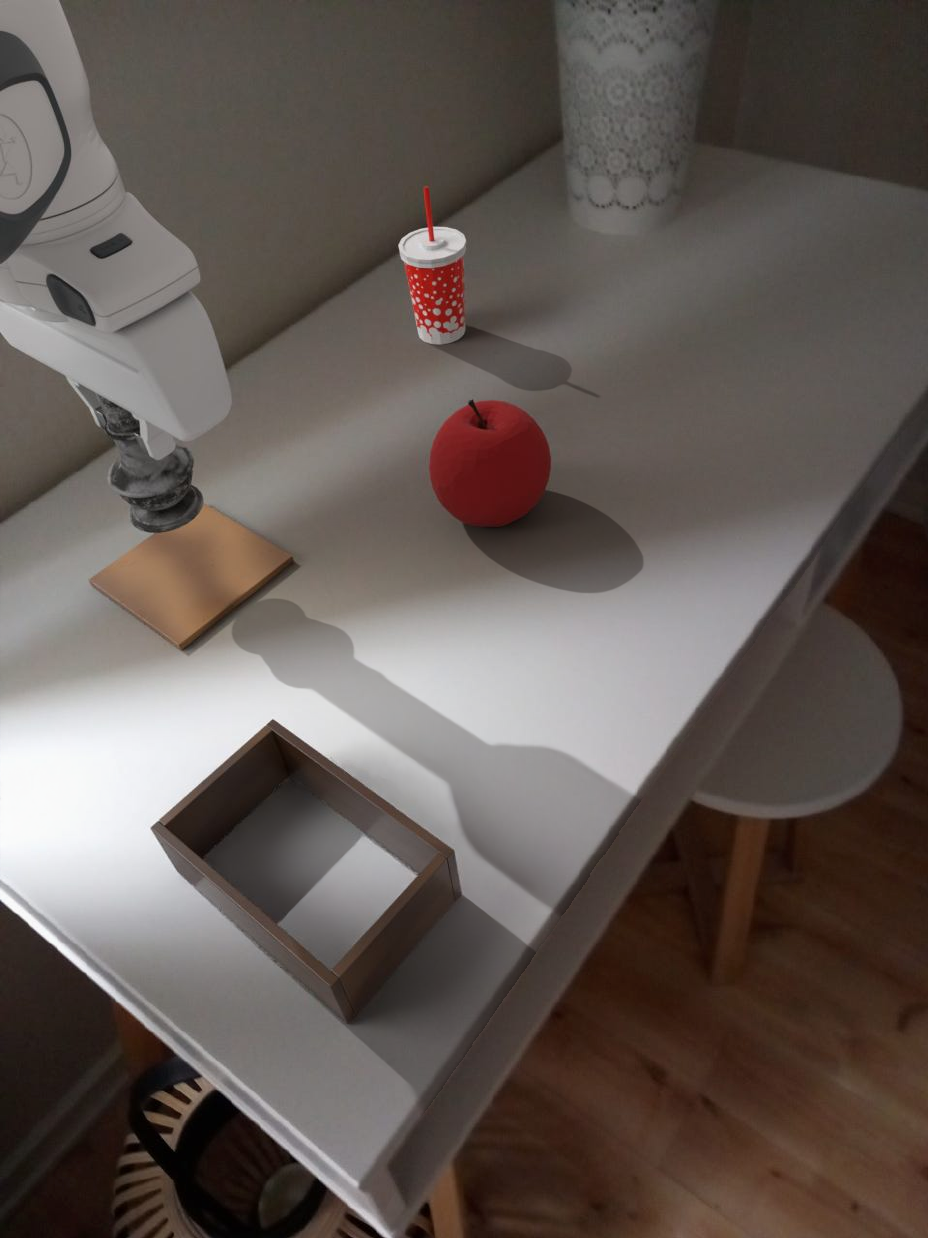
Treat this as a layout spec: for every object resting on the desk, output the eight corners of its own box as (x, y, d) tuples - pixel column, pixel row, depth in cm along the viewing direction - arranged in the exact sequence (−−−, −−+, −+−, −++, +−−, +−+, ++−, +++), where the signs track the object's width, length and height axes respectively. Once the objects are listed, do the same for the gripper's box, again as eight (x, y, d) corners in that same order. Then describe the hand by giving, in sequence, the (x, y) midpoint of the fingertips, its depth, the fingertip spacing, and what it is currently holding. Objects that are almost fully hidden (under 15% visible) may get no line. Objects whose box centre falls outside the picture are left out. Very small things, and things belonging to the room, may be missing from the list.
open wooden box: (347, 1025, 50) (330, 987, 46) (176, 871, 57) (149, 827, 53) (462, 894, 55) (454, 850, 51) (290, 765, 61) (272, 718, 58)
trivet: (181, 650, 69) (178, 645, 68) (90, 585, 74) (87, 579, 73) (294, 561, 74) (292, 555, 73) (202, 506, 79) (200, 500, 79)
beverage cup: (472, 347, 91) (460, 200, 81) (408, 350, 92) (388, 205, 82) (473, 312, 96) (462, 168, 85) (412, 316, 96) (393, 173, 86)
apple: (494, 564, 72) (486, 457, 64) (410, 513, 76) (393, 407, 69) (574, 500, 76) (575, 392, 69) (490, 455, 80) (482, 349, 73)
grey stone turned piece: (221, 485, 70) (171, 338, 61) (184, 540, 66) (125, 392, 57) (149, 476, 71) (90, 331, 63) (109, 530, 68) (40, 383, 59)
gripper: (-87, 216, 58) (11, 410, 68) (118, 316, 48) (197, 524, 58) (5, 176, 61) (86, 367, 71) (215, 261, 51) (274, 468, 61)
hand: (137, 439), depth 64 cm, fingers closed on grey stone turned piece, 3 cm apart
